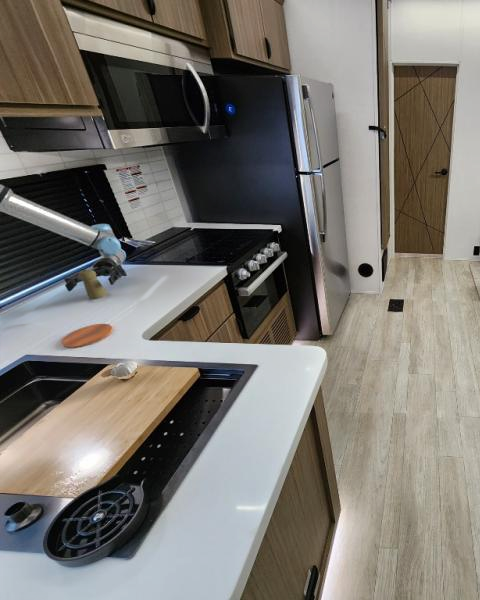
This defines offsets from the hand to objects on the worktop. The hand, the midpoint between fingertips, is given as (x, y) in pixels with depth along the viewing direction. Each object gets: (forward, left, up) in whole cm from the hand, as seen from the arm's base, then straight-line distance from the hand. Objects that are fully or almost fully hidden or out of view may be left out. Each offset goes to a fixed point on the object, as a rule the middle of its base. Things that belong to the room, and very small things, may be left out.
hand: (89, 284), depth 130 cm
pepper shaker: (-1, +2, -6) cm, 6 cm away
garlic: (+47, -45, -6) cm, 66 cm away
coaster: (+19, -26, -6) cm, 33 cm away
